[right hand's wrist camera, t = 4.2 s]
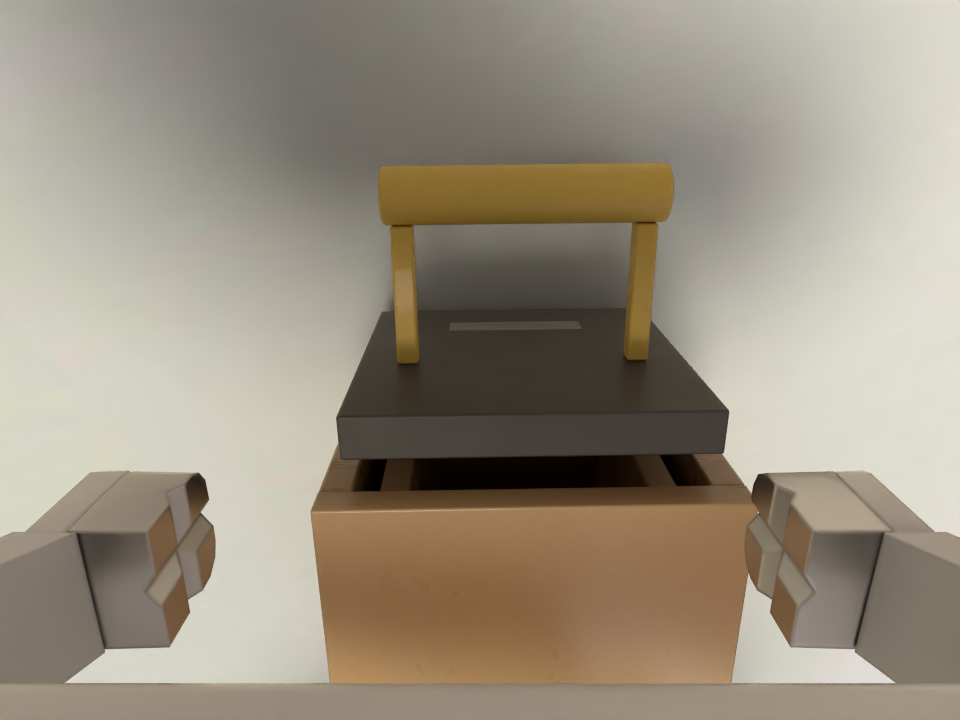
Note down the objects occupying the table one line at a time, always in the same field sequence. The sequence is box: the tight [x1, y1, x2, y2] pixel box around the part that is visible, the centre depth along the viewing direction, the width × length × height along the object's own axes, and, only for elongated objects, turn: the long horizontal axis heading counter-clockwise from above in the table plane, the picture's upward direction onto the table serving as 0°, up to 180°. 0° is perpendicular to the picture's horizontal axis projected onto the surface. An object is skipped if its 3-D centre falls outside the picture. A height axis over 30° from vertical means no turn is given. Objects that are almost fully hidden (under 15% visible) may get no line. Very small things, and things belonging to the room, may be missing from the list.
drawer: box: [336, 163, 729, 491], centre depth 23 cm, size 26×10×9 cm, turn 1°
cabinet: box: [311, 442, 758, 683], centre depth 25 cm, size 22×11×11 cm, turn 1°
